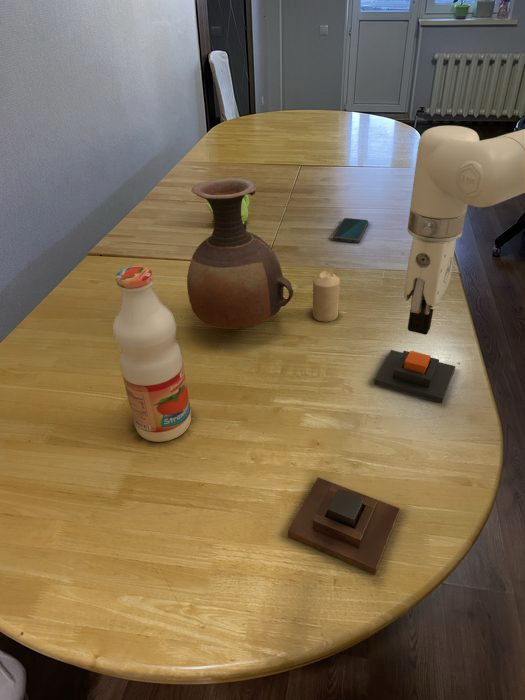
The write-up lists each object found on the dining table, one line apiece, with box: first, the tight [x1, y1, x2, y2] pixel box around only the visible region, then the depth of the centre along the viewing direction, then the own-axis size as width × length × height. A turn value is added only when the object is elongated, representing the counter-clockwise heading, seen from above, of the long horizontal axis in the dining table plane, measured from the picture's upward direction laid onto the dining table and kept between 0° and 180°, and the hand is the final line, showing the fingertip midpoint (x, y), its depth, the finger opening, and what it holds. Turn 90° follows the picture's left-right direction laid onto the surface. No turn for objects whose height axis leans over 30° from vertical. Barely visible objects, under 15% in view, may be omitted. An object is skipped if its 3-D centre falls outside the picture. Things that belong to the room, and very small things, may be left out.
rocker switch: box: [327, 489, 364, 528], centre depth 67 cm, size 4×4×2 cm
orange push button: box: [373, 349, 456, 404], centre depth 93 cm, size 12×10×3 cm
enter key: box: [404, 350, 431, 374], centre depth 92 cm, size 4×4×2 cm
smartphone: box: [332, 217, 369, 244], centre depth 148 cm, size 8×15×1 cm, turn 160°
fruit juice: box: [112, 265, 192, 443], centre depth 79 cm, size 9×9×28 cm
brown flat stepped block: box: [287, 477, 401, 575], centre depth 68 cm, size 12×10×3 cm
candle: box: [312, 270, 341, 322], centre depth 110 cm, size 6×6×10 cm
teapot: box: [205, 194, 251, 224], centre depth 155 cm, size 12×12×10 cm
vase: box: [186, 177, 294, 330], centre depth 101 cm, size 23×19×30 cm
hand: (418, 330), depth 84 cm, fingers closed
